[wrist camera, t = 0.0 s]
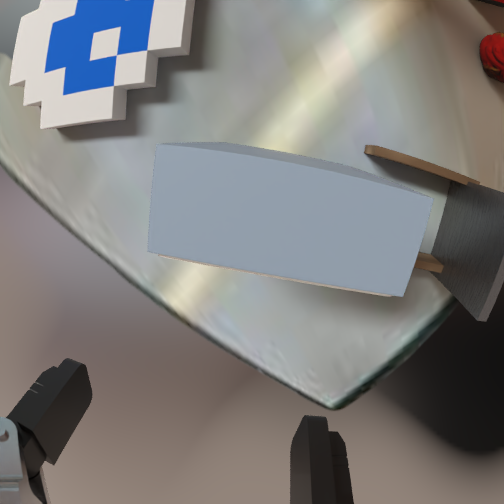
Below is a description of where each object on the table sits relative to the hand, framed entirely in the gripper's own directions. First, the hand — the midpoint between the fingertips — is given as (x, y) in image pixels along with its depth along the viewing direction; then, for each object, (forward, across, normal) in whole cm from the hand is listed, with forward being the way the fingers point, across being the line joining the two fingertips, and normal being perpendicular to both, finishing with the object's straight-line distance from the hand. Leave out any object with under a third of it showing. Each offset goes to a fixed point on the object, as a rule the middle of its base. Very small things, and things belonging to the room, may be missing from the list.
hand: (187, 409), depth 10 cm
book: (+29, -3, -5) cm, 30 cm away
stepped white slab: (+30, +25, -23) cm, 45 cm away
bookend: (+29, -28, -4) cm, 40 cm away
